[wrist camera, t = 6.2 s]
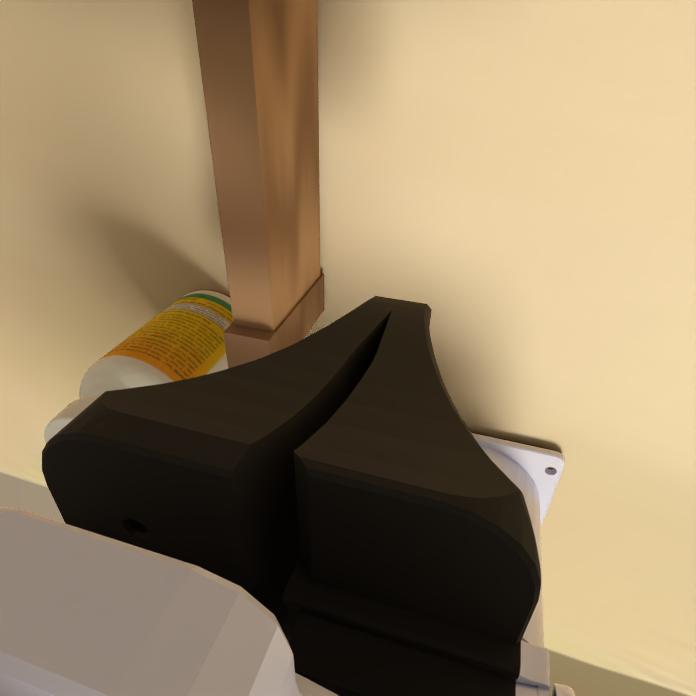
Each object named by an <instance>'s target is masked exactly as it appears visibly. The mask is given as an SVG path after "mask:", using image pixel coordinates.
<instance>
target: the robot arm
mask: <svg viewBox="0 0 696 696" xmlns="http://www.w3.org/2000/svg"><path fill="white" fill-rule="evenodd" d="M430 317H431V308H430V307H429V306H428V305H427V304H422V303H416V302H410V301H404V300H397V299H391V298H385V297H379V296H375V297H373V298H371V299H370V300H368V301H366V302H365V303H363V304H362V305H360V306H359V307H357V308H356V309H354V310H353V311H351V312H350V313H348V314H346V315H345V316H343V317H341V318H340V319H338V320H337V321H335V322H333V323H332V324H330V325H329V326H327V327H325V328H323V329H321V330H319V331H318V332H316V333H314V334H312V335H310V336H308V337H306V338H305V339H303V340H301V341H299V342H297V343H295V344H293V345H291V346H289V347H286V348H284V349H282V350H279V351H277V352H275V353H272V354H270V355H267V356H265V357H262V358H259V359H257V360H254V361H251V362H247V363H244V364H241V365H238V366H235V367H231V368H228V369H225V370H222V371H218V372H215V373H211V374H206V375H202V376H198V377H194V378H189V379H184V380H179V381H175V382H169V383H163V384H157V385H150V386H143V387H135V388H128V389H121V390H112V391H105V392H104V393H103V394H102V395H101V396H99V397H98V398H97V399H96V400H95V401H94V402H93V403H91V404H90V405H89V406H88V407H87V408H86V409H84V410H83V411H82V412H81V413H80V414H79V415H78V416H76V417H75V418H74V419H73V420H72V421H71V422H69V423H68V424H67V425H66V426H65V427H64V428H63V429H61V430H60V431H59V432H58V433H57V434H56V435H54V436H53V437H52V438H51V439H50V440H49V441H48V442H47V444H46V446H45V448H44V449H43V451H42V471H43V474H44V477H45V480H46V483H47V486H48V488H49V490H50V492H51V494H52V496H53V498H54V500H55V502H56V504H57V507H58V508H59V511H60V513H61V515H62V517H63V519H64V521H65V523H66V524H65V523H62V522H59V521H55V520H53V519H49V518H46V517H43V516H40V515H37V514H34V513H31V512H27V511H25V510H21V509H16V508H9V507H0V696H550V675H549V674H550V673H549V651H548V650H547V649H546V648H544V631H543V594H542V556H541V526H542V523H543V521H544V518H545V515H546V513H547V510H548V508H549V505H550V502H551V500H552V497H553V495H554V492H555V489H556V487H557V484H558V482H559V479H560V476H561V474H562V471H563V469H564V466H565V458H564V456H563V455H562V454H561V453H559V452H557V451H553V450H548V449H544V448H539V447H534V446H530V445H525V444H521V443H516V442H511V441H507V440H502V439H498V438H493V437H488V436H484V435H479V434H475V433H471V432H470V430H469V429H468V427H467V426H466V424H465V423H464V421H463V420H462V418H461V417H460V415H459V413H458V411H457V410H456V408H455V406H454V404H453V402H452V400H451V398H450V396H449V394H448V392H447V390H446V387H445V385H444V383H443V380H442V378H441V375H440V372H439V369H438V366H437V363H436V360H435V356H434V352H433V348H432V343H431V338H430V331H429V324H430ZM548 467H553V468H554V469H548ZM552 696H575V693H574V691H573V689H572V688H571V687H569V686H567V685H562V684H557V683H554V686H553V695H552Z"/></svg>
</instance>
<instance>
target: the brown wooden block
mask: <svg viewBox="0 0 696 696" xmlns="http://www.w3.org/2000/svg"><path fill="white" fill-rule="evenodd" d="M192 2H193V10H194V18H195V26H196V34H197V42H198V49H199V57H200V65H201V73H202V81H203V89H204V97H205V104H206V112H207V120H208V128H209V136H210V144H211V151H212V159H213V167H214V175H215V183H216V191H217V198H218V206H219V214H220V222H221V230H222V238H223V245H224V253H225V261H226V269H227V277H228V285H229V292H230V300H231V308H232V316H233V323H232V324H231V325H230V326H229V327H228V328H227V329H226V330H225V331H224V332H223V335H224V342H225V349H226V356H227V363H228V368H231V367H235V366H238V365H241V364H244V363H247V362H251V361H254V360H257V359H259V358H262V357H265V356H267V355H270V354H272V353H275V352H277V351H279V350H282V349H284V348H286V347H289V346H291V345H293V344H295V343H297V342H299V341H301V340H303V338H304V337H305V335H306V334H307V333H308V331H309V330H310V328H311V327H312V326H313V324H314V323H315V321H316V320H317V319H318V317H319V316H320V315H321V313H322V312H323V310H324V274H320V206H319V120H318V33H317V0H192Z"/></svg>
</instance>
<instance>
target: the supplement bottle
mask: <svg viewBox="0 0 696 696" xmlns="http://www.w3.org/2000/svg"><path fill="white" fill-rule="evenodd" d="M232 323H233V316H232V308H231V300H230V297H228V296H226V295H224V294H221V293H218V292H214V291H206V290H200V291H194V292H191V293H188V294H186V295H184V296H183V297H181V298H180V299H178V300H177V301H176V302H174V303H173V304H172V305H171V306H169V307H168V308H166V309H165V310H163V311H162V312H161V313H160V314H158V315H157V316H156V317H154V318H153V319H152V320H151V321H149V322H148V323H147V324H145V325H144V326H143V327H141V328H140V329H139V330H138V331H136V332H135V333H134V334H132V335H131V336H130V337H128V338H127V339H126V340H124V341H123V342H122V343H121V344H119V345H118V346H117V347H115V348H114V349H113V350H111V351H110V352H109V353H107V354H106V355H105V356H103V357H102V358H101V359H100V360H98V361H97V362H96V363H94V364H93V365H92V366H91V367H90V368H89V369H88V371H87V372H86V373H85V375H84V377H83V379H82V382H81V385H80V392H79V397H80V399H79V400H76V401H73V402H72V403H70V404H69V405H68V406H67V407H66V408H65V409H64V410H63V411H61V412H60V413H59V414H58V415H57V416H56V417H55V418H53V419H52V420H51V421H50V422H49V424H48V425H47V427H46V429H45V442H46V444H47V442H48V441H49V440H50V439H51V438H52V437H53V436H54V435H56V434H57V433H58V432H59V431H60V430H61V429H63V428H64V427H65V426H66V425H67V424H68V423H69V422H71V421H72V420H73V419H74V418H75V417H76V416H78V415H79V414H80V413H81V412H82V411H83V410H84V409H86V408H87V407H88V406H89V405H90V404H91V403H93V402H94V401H95V400H96V399H97V398H98V397H99V396H101V395H102V394H103V393H104V392H105V391H112V390H121V389H128V388H135V387H143V386H150V385H157V384H163V383H169V382H175V381H179V380H184V379H189V378H194V377H198V376H202V375H206V374H211V373H215V372H218V371H222V370H225V369H228V363H227V356H226V349H225V342H224V335H223V332H224V331H225V330H226V329H227V328H228V327H229V326H230V325H231V324H232Z"/></svg>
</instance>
